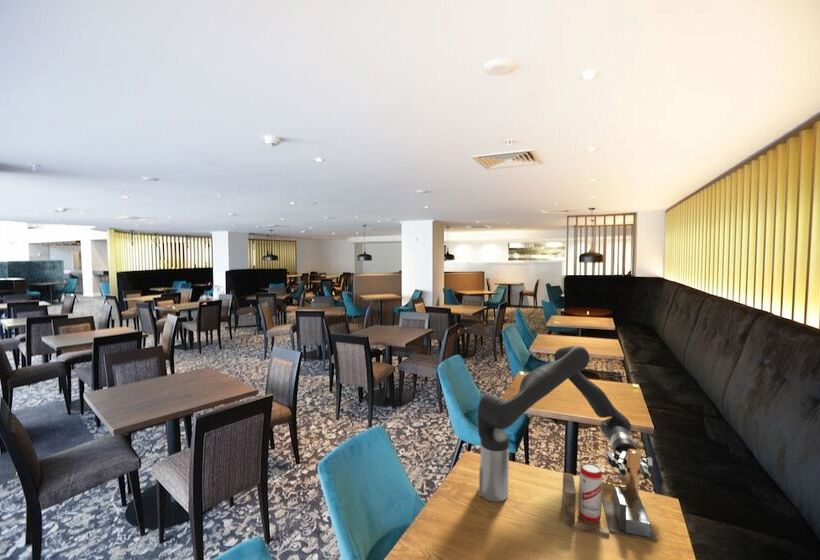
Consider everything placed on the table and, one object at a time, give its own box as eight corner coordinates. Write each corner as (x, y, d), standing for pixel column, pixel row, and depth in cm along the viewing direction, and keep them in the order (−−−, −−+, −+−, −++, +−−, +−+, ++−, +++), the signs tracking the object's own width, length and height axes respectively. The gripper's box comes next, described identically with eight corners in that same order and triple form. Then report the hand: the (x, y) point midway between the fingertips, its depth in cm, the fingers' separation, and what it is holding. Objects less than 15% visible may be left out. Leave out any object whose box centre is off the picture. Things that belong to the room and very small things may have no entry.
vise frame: (564, 527, 118) (565, 495, 117) (561, 493, 134) (562, 464, 133) (659, 546, 110) (661, 512, 109) (643, 507, 127) (645, 477, 126)
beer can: (602, 525, 119) (605, 474, 117) (580, 523, 120) (582, 472, 118) (597, 511, 125) (599, 463, 123) (576, 509, 126) (578, 461, 124)
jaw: (619, 531, 115) (622, 471, 113) (610, 499, 129) (613, 446, 128) (649, 537, 113) (652, 476, 111) (636, 503, 127) (639, 449, 125)
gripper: (601, 434, 140) (609, 459, 124) (648, 440, 136) (662, 467, 120) (600, 454, 141) (608, 482, 125) (646, 461, 136) (661, 490, 120)
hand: (635, 474), depth 122 cm, fingers open, 5 cm apart
